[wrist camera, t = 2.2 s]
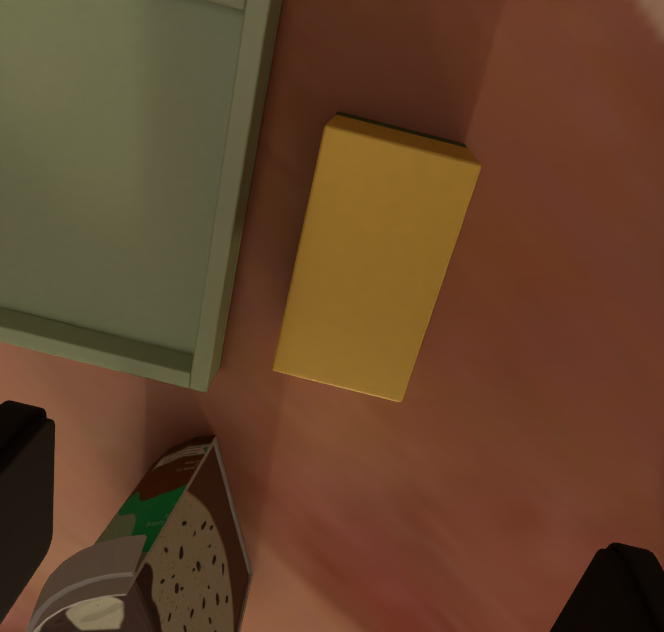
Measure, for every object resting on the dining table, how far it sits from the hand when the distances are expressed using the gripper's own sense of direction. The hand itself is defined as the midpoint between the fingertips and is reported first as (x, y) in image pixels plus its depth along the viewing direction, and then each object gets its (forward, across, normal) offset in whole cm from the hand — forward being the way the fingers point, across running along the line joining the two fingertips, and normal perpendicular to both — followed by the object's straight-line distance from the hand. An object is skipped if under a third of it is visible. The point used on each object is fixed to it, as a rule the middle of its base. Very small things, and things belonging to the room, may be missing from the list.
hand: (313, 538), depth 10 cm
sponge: (+16, -1, -1) cm, 16 cm away
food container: (+16, +6, +16) cm, 23 cm away
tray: (+16, +15, -1) cm, 22 cm away
